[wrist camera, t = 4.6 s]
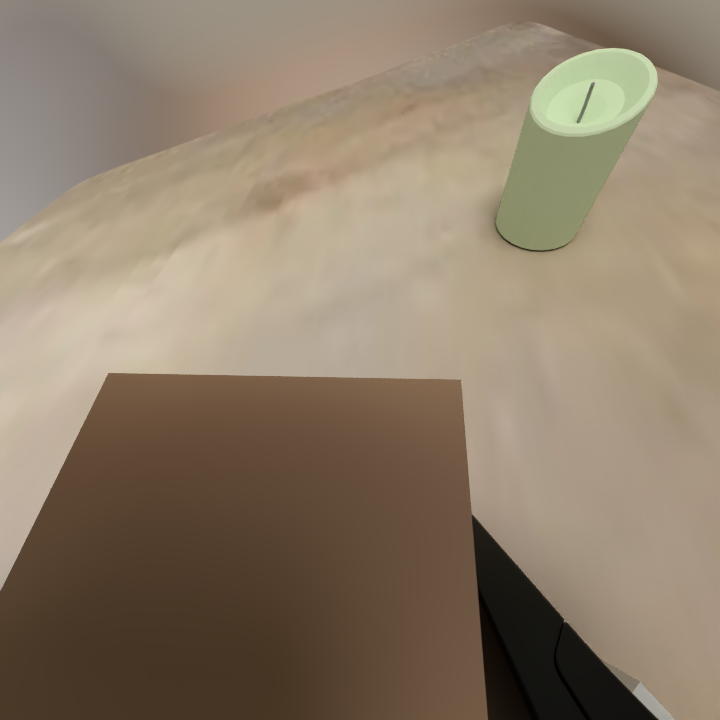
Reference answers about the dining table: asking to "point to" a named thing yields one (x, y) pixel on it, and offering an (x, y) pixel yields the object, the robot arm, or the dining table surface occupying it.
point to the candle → (572, 144)
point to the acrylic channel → (641, 693)
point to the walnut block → (252, 557)
